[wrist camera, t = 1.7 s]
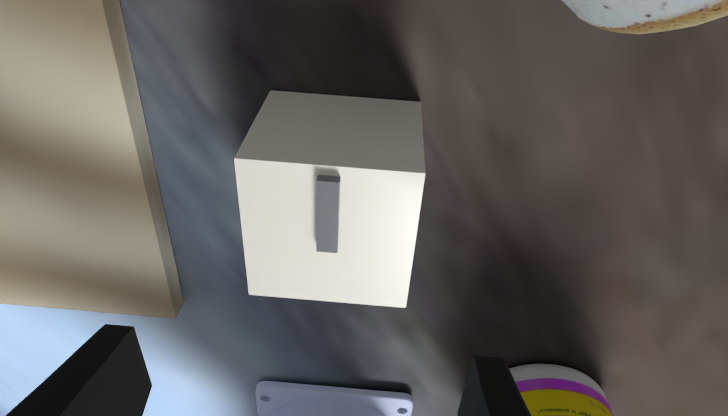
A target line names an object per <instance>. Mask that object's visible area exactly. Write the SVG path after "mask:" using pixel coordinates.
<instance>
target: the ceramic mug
mask: <svg viewBox="0 0 728 416" xmlns="http://www.w3.org/2000/svg"><path fill="white" fill-rule="evenodd" d="M562 1H563V2H564V3H565V4H566V5H567V6H568V7H569V8H570V9H571V10H572V11H573V12H574V13H575V14H576V15H577V16H578V17H579V18H580V19H582V20H584V21H585V22H587V23H589V24H591V25H593V26H595V27H597V28H600V29H604V30H607V31H611V32H619V33H630V34H646V33H654V32H662V31H670V30H675V29H680V28H686V27H691V26H696V25H700V24H703V23H706V22H709V21H712V20H715V19H718V18H721V17H724V16H727V15H728V0H562Z"/></svg>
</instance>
